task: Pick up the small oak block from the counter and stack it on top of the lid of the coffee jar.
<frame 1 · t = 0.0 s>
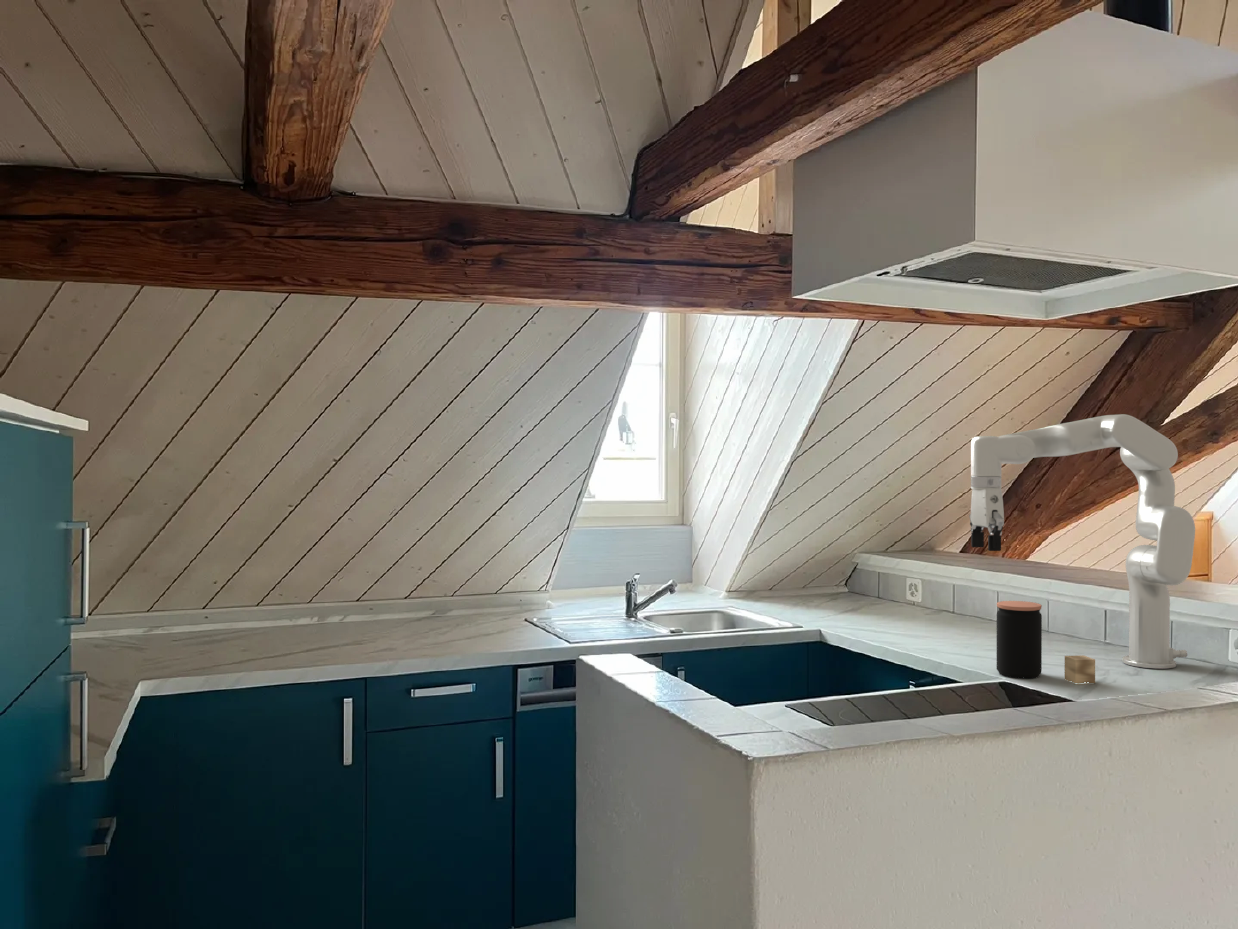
hand: (985, 548, 260), 31 cm above the worktop, tool pointing down, fingers open, 9 cm apart
oak block: (1079, 682, 245), on the worktop
coffee jar: (1018, 675, 253), on the worktop
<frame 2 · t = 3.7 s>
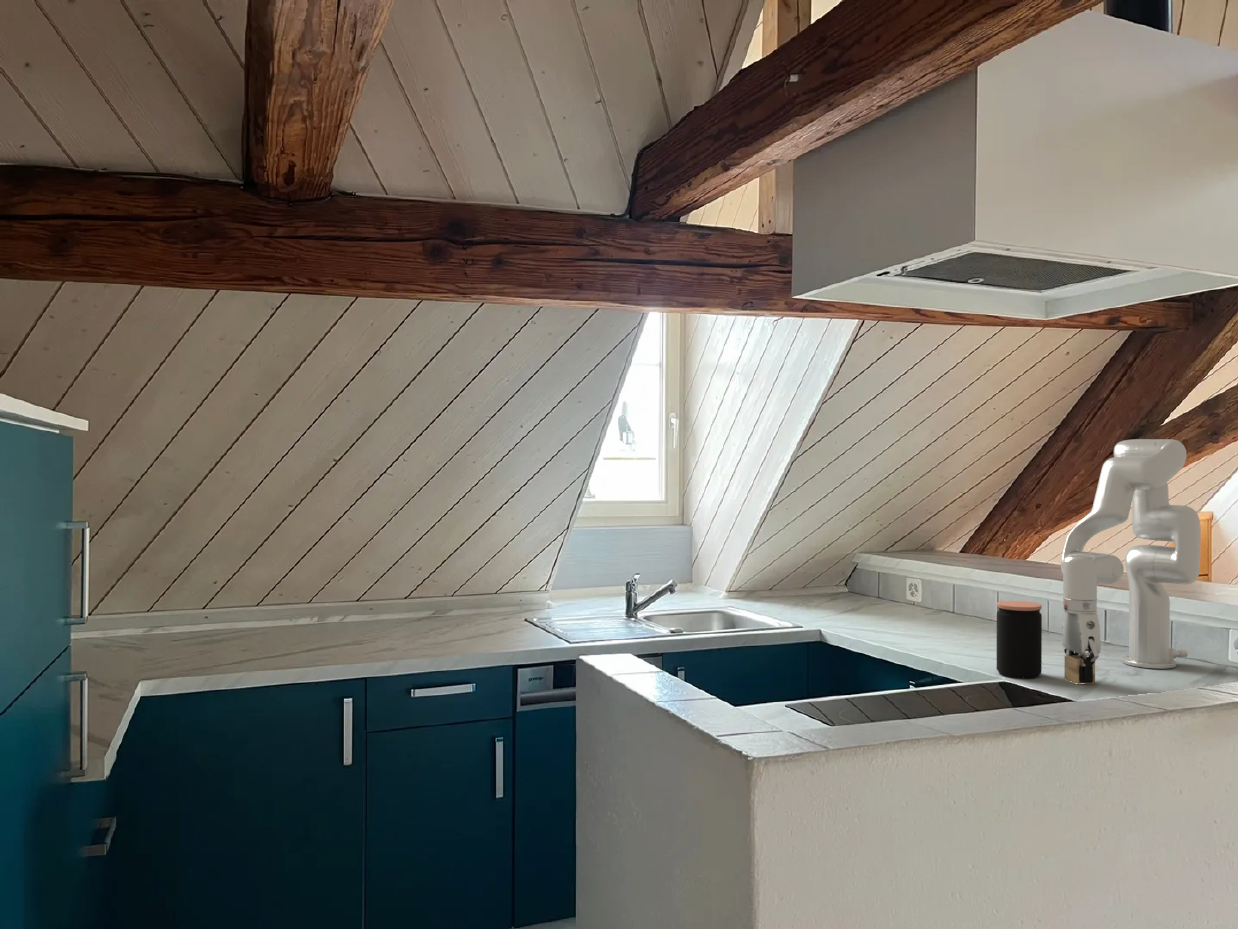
hand: (1079, 679, 245), 1 cm above the worktop, tool pointing down, fingers closed on oak block, 5 cm apart
oak block: (1079, 681, 245), on the worktop, touching gripper
everything else where it was.
when the fingers open (20 cm above the worktop, at t = 9.5 s): oak block drops 1 cm, resting on coffee jar.
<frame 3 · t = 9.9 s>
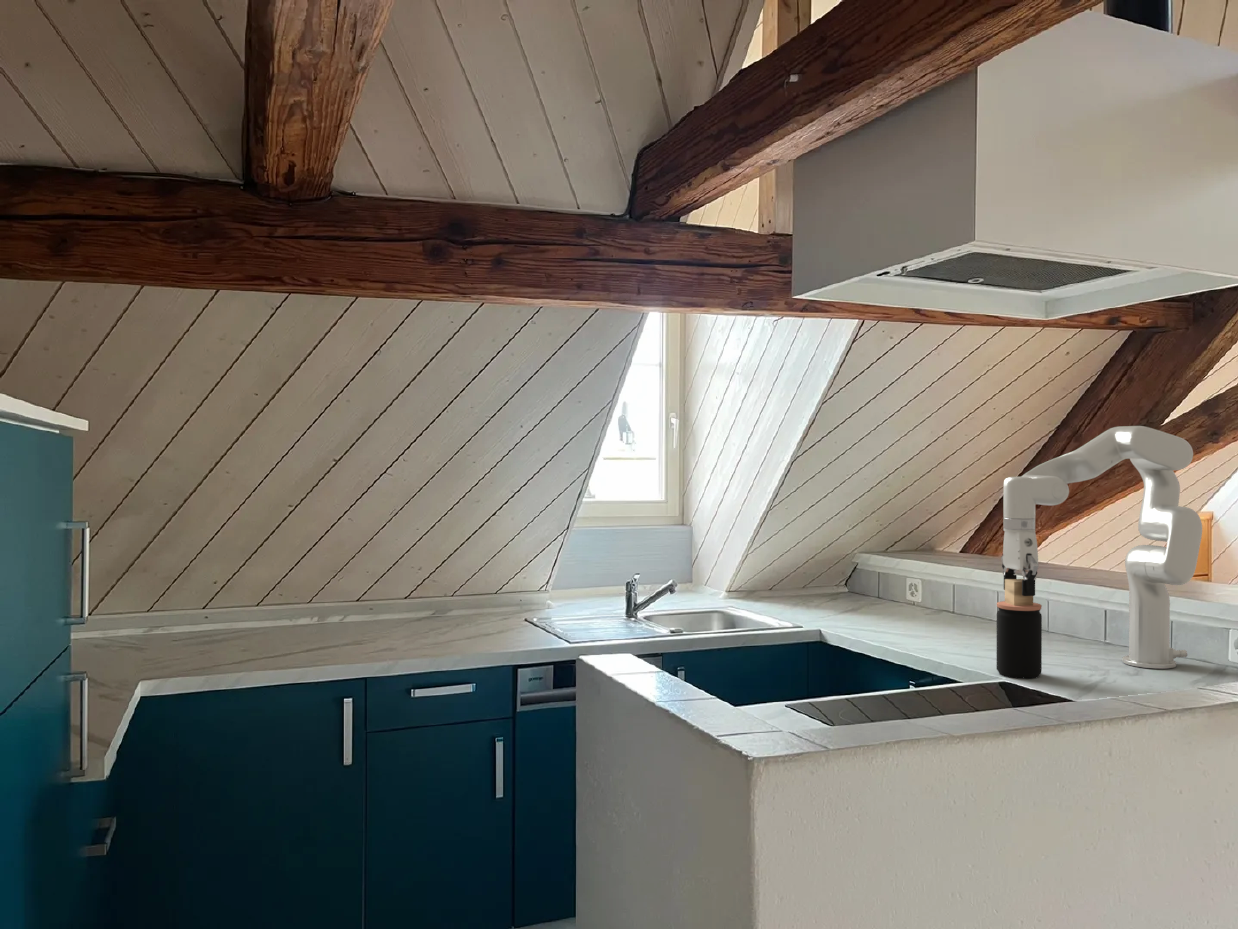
hand: (1019, 593, 253), 21 cm above the worktop, tool pointing down, fingers open, 9 cm apart
oak block: (1018, 604, 253), point 18 cm above the worktop, touching coffee jar
coffee jar: (1018, 675, 253), on the worktop, touching oak block
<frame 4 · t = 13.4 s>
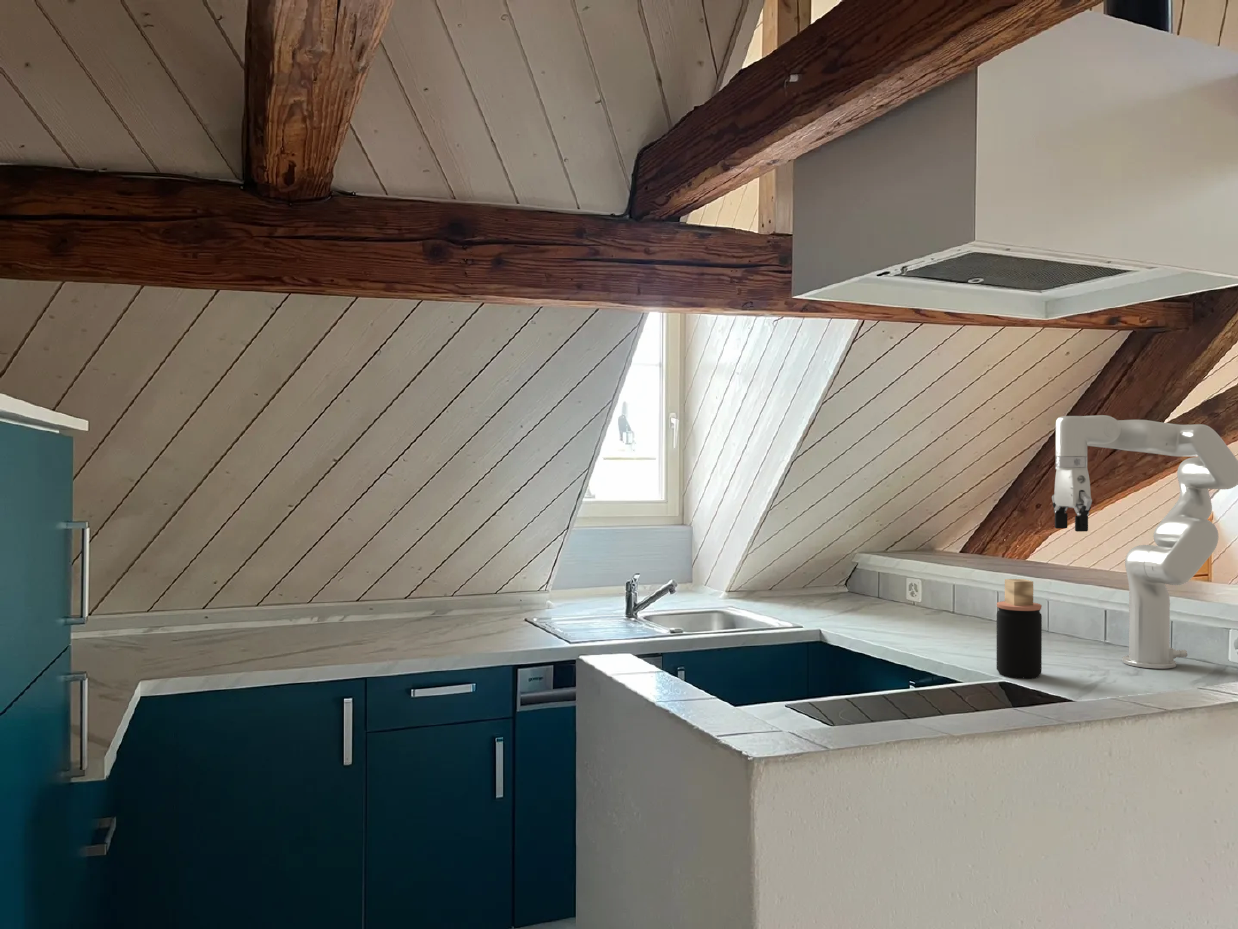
hand: (1071, 529, 258), 36 cm above the worktop, tool pointing down, fingers open, 9 cm apart
nothing on the worktop moved.
at the end: oak block 0.1 cm from the coffee jar (horizontally); oak block point 17.9 cm above the worktop; oak block tilted 0° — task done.
